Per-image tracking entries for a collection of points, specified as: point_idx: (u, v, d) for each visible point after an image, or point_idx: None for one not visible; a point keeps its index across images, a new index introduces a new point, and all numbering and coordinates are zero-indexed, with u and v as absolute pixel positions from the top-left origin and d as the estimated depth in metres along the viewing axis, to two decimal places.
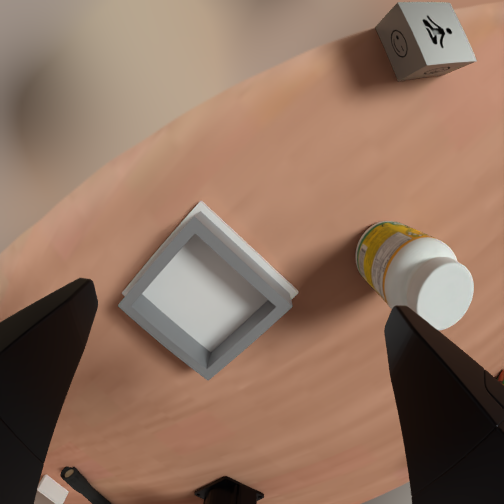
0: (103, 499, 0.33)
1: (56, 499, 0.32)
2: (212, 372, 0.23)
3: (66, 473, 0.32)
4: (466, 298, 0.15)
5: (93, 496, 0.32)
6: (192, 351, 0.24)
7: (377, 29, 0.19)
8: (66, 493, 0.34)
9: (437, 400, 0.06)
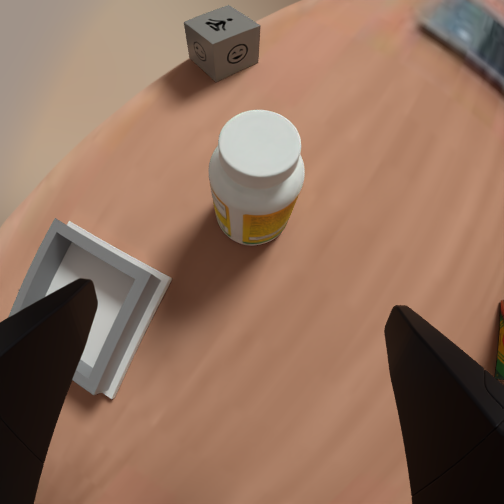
0: None
1: None
2: (94, 382, 0.18)
3: None
4: (289, 135, 0.15)
5: None
6: None
7: (190, 57, 0.28)
8: None
9: (437, 400, 0.06)
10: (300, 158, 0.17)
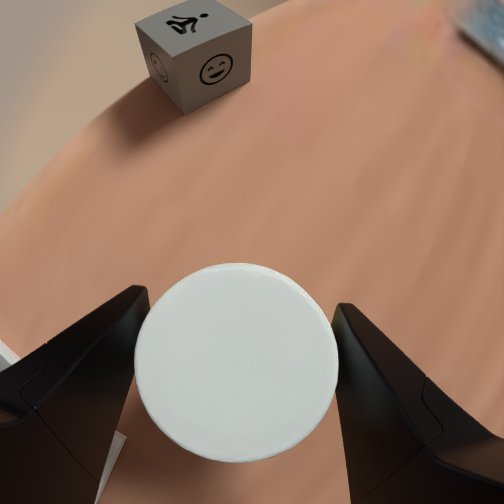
0: None
1: None
2: None
3: None
4: (311, 349, 0.06)
5: None
6: None
7: (151, 75, 0.19)
8: None
9: (370, 407, 0.06)
10: None
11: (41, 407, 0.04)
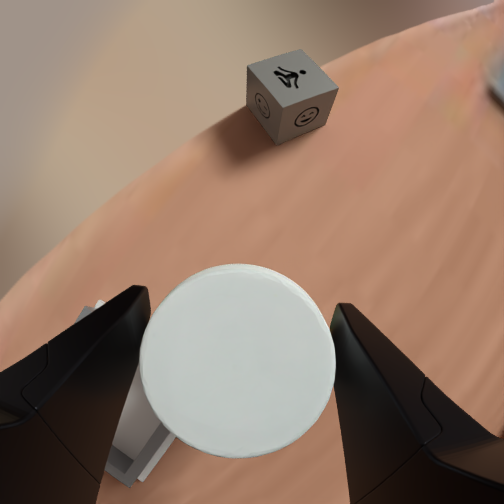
0: None
1: None
2: (131, 478, 0.16)
3: None
4: (309, 350, 0.06)
5: None
6: (109, 456, 0.17)
7: (248, 105, 0.26)
8: None
9: (369, 407, 0.06)
10: None
11: (42, 407, 0.04)
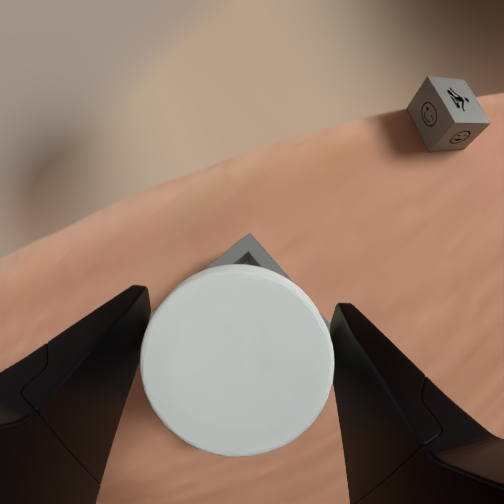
0: None
1: None
2: None
3: None
4: (308, 349, 0.06)
5: None
6: None
7: (408, 109, 0.26)
8: None
9: (369, 407, 0.06)
10: None
11: (42, 407, 0.04)
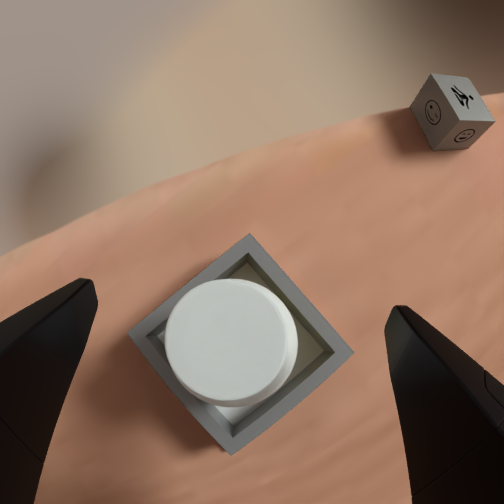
0: None
1: None
2: (239, 443, 0.15)
3: None
4: (270, 330, 0.10)
5: None
6: (214, 414, 0.16)
7: (411, 107, 0.25)
8: None
9: (437, 400, 0.06)
10: (292, 332, 0.12)
11: None
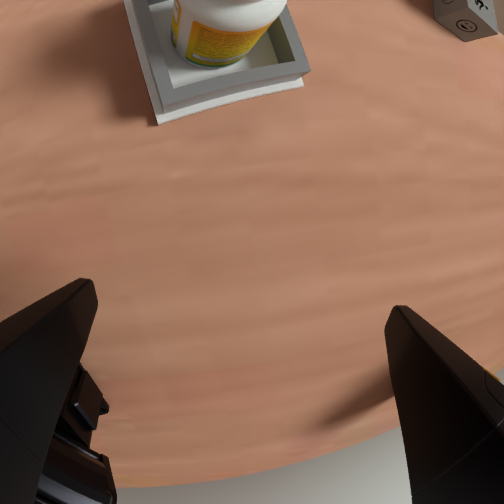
0: None
1: None
2: (177, 96, 0.16)
3: None
4: None
5: None
6: None
7: None
8: None
9: (437, 400, 0.06)
10: None
11: None
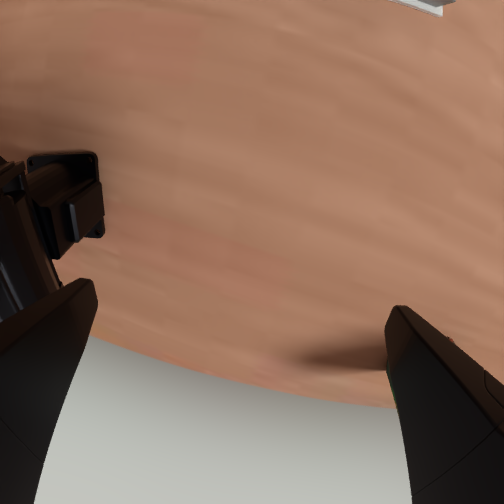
0: None
1: None
2: None
3: None
4: None
5: None
6: None
7: None
8: None
9: (437, 400, 0.06)
10: None
11: None
